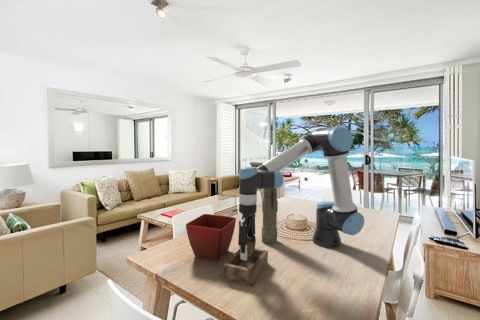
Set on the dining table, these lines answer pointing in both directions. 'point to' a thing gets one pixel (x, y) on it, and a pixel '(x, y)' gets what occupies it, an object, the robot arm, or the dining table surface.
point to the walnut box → (246, 267)
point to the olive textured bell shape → (250, 246)
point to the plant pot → (210, 235)
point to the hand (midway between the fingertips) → (246, 255)
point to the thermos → (269, 216)
